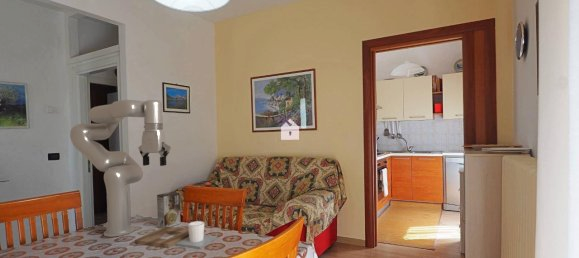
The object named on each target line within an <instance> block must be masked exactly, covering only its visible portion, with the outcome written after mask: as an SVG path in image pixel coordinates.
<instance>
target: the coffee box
mask: <svg viewBox="0 0 579 258" xmlns="http://www.w3.org/2000/svg"><path fill="white" fill-rule="evenodd" d="M180 197H181V196H180V192H177V191H169V192H165V193H159V194H157V195H156V202H157V203H156V205H157V209H156V210H157V227H158V228H160V229H161V228H163V227H174V226H177V225H180V224H181V205H180V204H181V201H180V200H181V199H180Z"/></svg>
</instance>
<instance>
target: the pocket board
mask: <svg viewBox="0 0 579 258" xmlns="http://www.w3.org/2000/svg"><path fill="white" fill-rule="evenodd" d="M164 235H174V236H172V237H169V238H160V237H162V236H164ZM187 237H189V230H188V228H184V227H183V228H181V227H174V226H172V227H163V228H161V227H160V228H159V229H157V230H155V231H152V232H150V233H147V234H146V235H143V236H141V237H140V236H139V237H138V238H136V239H134V244H135V245H143V246H150V247H158V248H165V249H170V248H172V247H173V246H176V243H178V242H180V241H182V240H184V239H185V238H187Z"/></svg>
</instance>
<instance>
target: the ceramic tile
mask: <svg viewBox="0 0 579 258" xmlns="http://www.w3.org/2000/svg"><path fill="white" fill-rule="evenodd" d="M216 239H218V236H217V235H209V234H204V238H203V240H202V241H199V242H190V239H189V237H187V238H185V239H184V240H182V241H180V242H178V243H176V244H175V246H176V247H177V246H178V247H184V248H185V247H186V248H193V249H202V248H204V247H206V246H207V245H209V244H210V243H212V242H213V241H215V240H216Z"/></svg>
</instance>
